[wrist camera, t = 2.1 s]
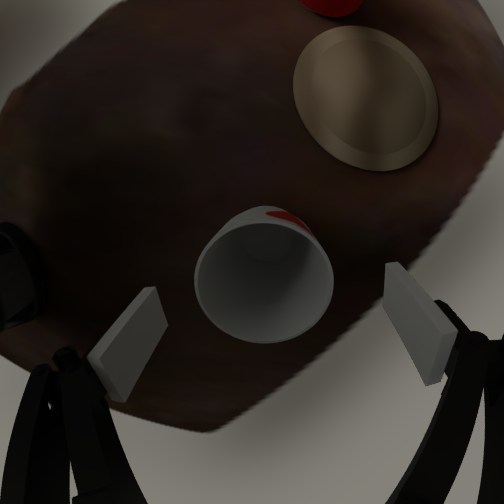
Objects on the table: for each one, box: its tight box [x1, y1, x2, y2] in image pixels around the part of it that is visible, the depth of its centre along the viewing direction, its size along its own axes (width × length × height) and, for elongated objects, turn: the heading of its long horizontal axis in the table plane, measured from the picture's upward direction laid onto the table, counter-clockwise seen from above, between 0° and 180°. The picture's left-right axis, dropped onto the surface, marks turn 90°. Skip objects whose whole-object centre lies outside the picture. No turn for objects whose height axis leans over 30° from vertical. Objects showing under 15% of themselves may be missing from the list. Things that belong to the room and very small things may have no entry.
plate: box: [293, 26, 438, 171], centre depth 19 cm, size 14×14×1 cm
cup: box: [194, 206, 334, 343], centre depth 21 cm, size 8×8×10 cm
